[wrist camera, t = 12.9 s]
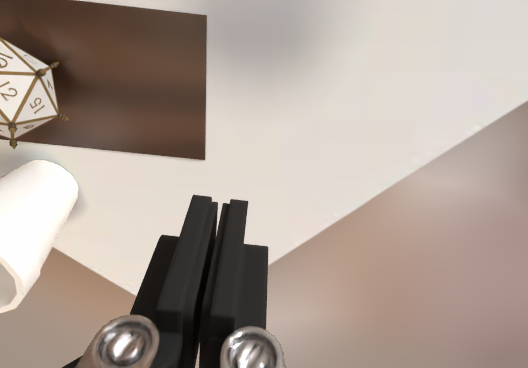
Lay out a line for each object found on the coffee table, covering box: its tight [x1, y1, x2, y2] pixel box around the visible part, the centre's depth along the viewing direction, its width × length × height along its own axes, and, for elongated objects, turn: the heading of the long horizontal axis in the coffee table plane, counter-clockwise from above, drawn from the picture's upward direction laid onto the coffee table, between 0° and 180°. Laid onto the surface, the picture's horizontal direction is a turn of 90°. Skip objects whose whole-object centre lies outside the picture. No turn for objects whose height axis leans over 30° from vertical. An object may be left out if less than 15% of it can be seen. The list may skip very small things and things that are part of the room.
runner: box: [0, 0, 207, 160], centre depth 32 cm, size 14×24×1 cm, turn 84°
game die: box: [0, 32, 69, 149], centre depth 29 cm, size 9×8×10 cm
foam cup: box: [0, 160, 78, 313], centre depth 33 cm, size 10×9×13 cm
